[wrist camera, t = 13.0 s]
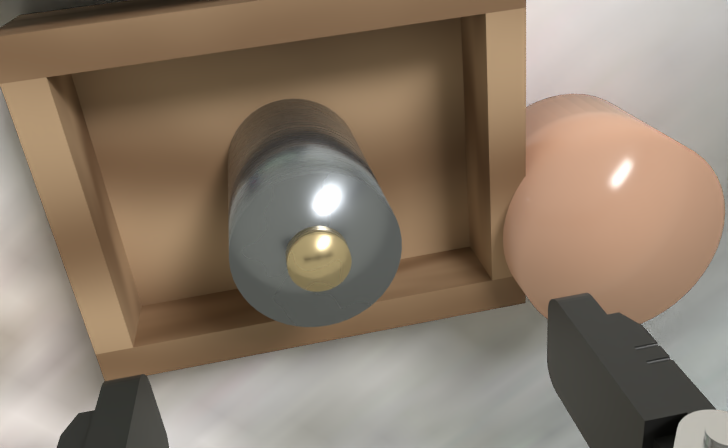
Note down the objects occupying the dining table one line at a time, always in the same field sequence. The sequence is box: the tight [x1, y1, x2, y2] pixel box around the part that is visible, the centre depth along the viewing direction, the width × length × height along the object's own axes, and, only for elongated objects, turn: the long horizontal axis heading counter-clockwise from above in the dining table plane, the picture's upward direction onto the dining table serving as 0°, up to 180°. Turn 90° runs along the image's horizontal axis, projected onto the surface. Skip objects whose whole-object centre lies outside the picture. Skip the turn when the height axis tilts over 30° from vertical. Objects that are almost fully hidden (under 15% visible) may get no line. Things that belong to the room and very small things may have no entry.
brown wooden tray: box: [0, 0, 526, 381], centre depth 23 cm, size 11×15×4 cm
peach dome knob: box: [503, 94, 725, 324], centre depth 25 cm, size 7×7×5 cm
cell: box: [228, 99, 402, 327], centre depth 20 cm, size 4×4×7 cm
